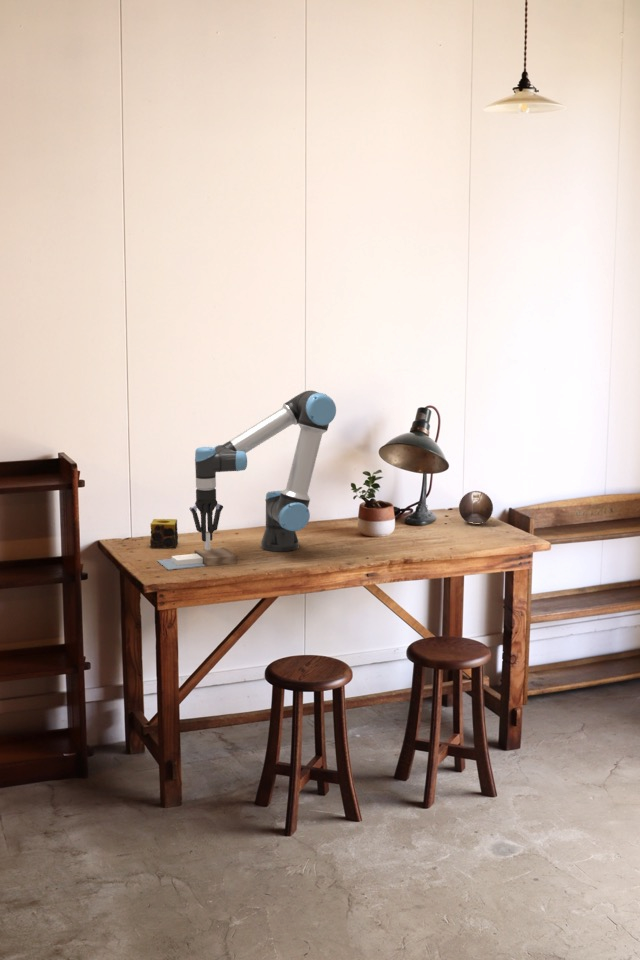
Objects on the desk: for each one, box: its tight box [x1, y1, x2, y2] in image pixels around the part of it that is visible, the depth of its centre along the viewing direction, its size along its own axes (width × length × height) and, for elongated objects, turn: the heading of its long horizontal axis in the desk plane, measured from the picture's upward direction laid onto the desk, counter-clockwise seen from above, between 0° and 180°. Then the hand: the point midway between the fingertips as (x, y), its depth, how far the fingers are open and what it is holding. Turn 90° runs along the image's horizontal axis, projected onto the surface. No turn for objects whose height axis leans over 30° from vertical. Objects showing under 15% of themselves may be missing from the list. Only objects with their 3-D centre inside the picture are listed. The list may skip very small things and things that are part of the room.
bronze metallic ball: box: [458, 490, 494, 524], centre depth 473 cm, size 15×15×15 cm
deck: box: [194, 547, 238, 567], centre depth 405 cm, size 12×14×3 cm
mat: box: [156, 558, 206, 571], centre depth 399 cm, size 14×14×1 cm
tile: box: [171, 553, 203, 566], centre depth 400 cm, size 10×7×2 cm
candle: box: [149, 518, 179, 549], centre depth 426 cm, size 10×10×10 cm
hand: (207, 549), depth 403 cm, fingers closed
